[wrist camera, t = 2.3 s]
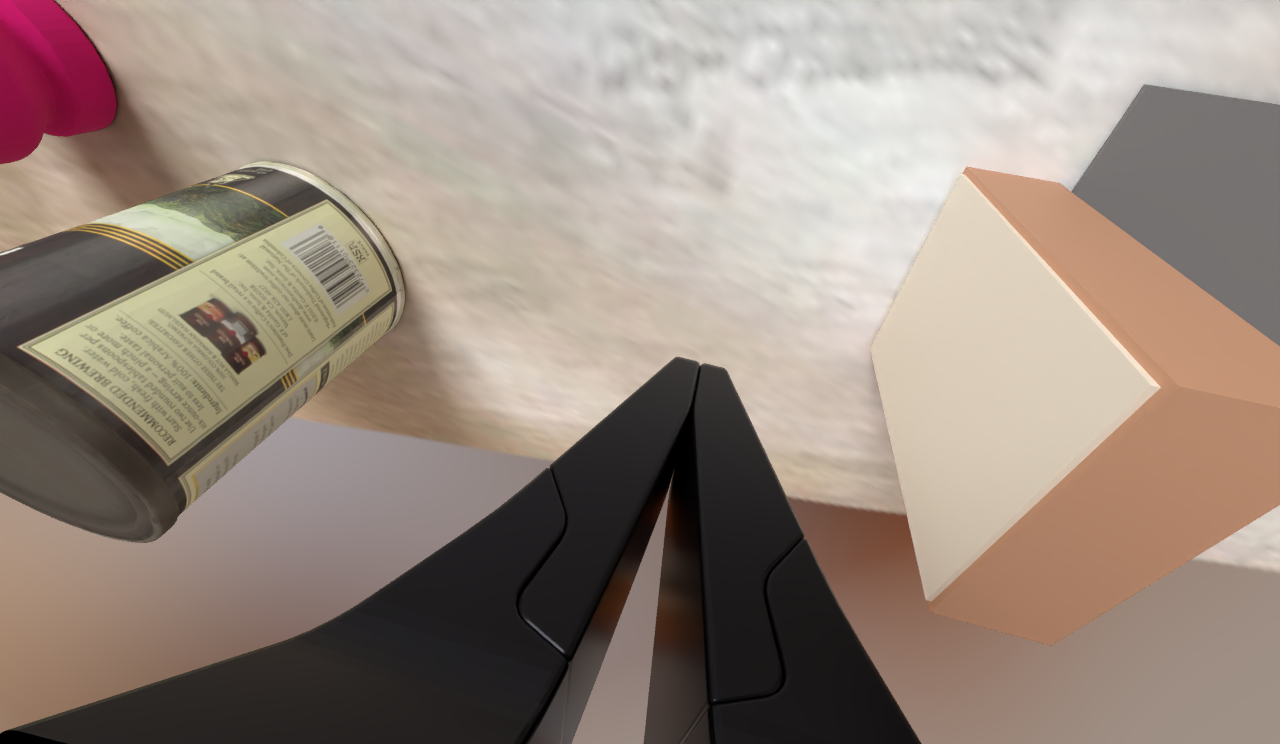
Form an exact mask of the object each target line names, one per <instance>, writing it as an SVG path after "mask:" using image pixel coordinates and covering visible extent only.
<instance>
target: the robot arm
mask: <svg viewBox="0 0 1280 744" xmlns="http://www.w3.org/2000/svg"><path fill="white" fill-rule="evenodd" d="M672 475H673V476H672ZM671 479H672V481H671ZM670 482H671V486H670V491H669V499H668V509H667V518H666V528H665V537H664V548H663V557H662V567H661V578H660V588H659V597H658V607H657V617H656V627H655V637H654V647H653V657H652V666H651V667H652V668H651V676H650V686H649V696H648V707H647V716H646V726H645V736H644V744H921V742H920V741H919V739H918V737H917V735H916V734H915V732H914V730H913V729H912V727H911V725H910V724H909V722H908V721H907V719H906V717H905V716H904V714H903V712H902V710H901V709H900V707H899V705H898V704H897V702H896V700H895V699H894V697H893V695H892V694H891V692H890V690H889V689H888V687H887V686H886V684H885V682H884V680H883V679H882V677H881V676H880V674H879V672H878V670H877V669H876V667H875V666H874V664H873V662H872V661H871V659H870V657H869V656H868V654H867V652H866V651H865V649H864V647H863V646H862V644H861V642H860V640H859V638H858V637H857V635H856V633H855V631H854V630H853V628H852V626H851V624H850V623H849V621H848V619H847V617H846V616H845V614H844V612H843V610H842V609H841V607H840V605H839V603H838V601H837V599H836V598H835V595H834V593H833V592H832V590H831V588H830V586H829V584H828V582H827V580H826V578H825V576H824V574H823V572H822V570H821V568H820V566H819V564H818V562H817V560H816V558H815V556H814V554H813V551H812V549H811V547H810V545H809V543H808V541H807V540H806V539H803V538H804V533H803V531H802V528H801V526H800V524H799V522H798V520H797V518H796V516H795V513H794V512H793V509H792V507H791V505H790V503H789V501H788V499H787V497H786V494H785V492H784V490H783V488H782V486H781V484H780V482H779V480H778V478H777V475H776V473H775V471H774V469H773V467H772V465H771V463H770V461H769V459H768V456H767V454H766V452H765V450H764V448H763V446H762V444H761V442H760V440H759V437H758V435H757V433H756V431H755V429H754V427H753V425H752V423H751V421H750V418H749V416H748V414H747V412H746V410H745V408H744V406H743V404H742V402H741V399H740V397H739V395H738V393H737V391H736V389H735V387H734V385H733V383H732V380H731V378H730V376H729V374H728V372H727V370H726V369H725V368H722V367H718V366H714V365H710V364H705V363H704V364H702V365H701V366H700V364H699V363H698V362H697V361H693V360H689V359H685V358H681V357H675V358H674V359H673V360H671V361H670V362H669V363H668V364H667V365H666V366H664V367H663V368H662V369H661V370H660V371H659V372H658V373H656V374H655V375H654V376H653V377H652V378H651V379H649V380H648V381H647V382H646V383H645V384H644V385H642V386H641V387H640V388H639V389H638V390H637V391H636V392H634V393H633V394H632V395H631V396H630V397H629V398H627V399H626V400H625V401H624V402H623V403H622V404H620V405H619V406H618V407H617V408H616V409H615V410H614V411H612V412H611V413H610V414H609V415H608V416H607V417H605V418H604V419H603V420H602V421H601V422H600V423H598V424H597V425H596V426H595V427H594V428H593V429H592V430H590V431H589V432H588V433H587V434H586V435H585V436H583V437H582V438H581V439H580V440H579V441H578V442H576V443H575V444H574V445H573V446H572V447H571V448H570V449H568V450H567V451H566V452H565V453H564V454H563V455H561V456H560V457H559V458H558V459H557V460H556V461H554V462H553V463H552V464H551V465H550V469H549V468H546V469H545V470H544V471H543V472H541V473H540V474H539V475H538V476H537V477H536V478H535V479H533V480H532V481H531V482H530V483H529V484H528V485H526V486H525V487H524V488H523V489H521V490H520V491H519V492H518V493H516V494H515V495H514V496H513V497H511V498H510V499H509V500H508V501H507V502H505V503H504V504H503V505H502V506H500V507H499V508H498V509H496V510H495V511H494V512H492V513H491V514H489V515H488V516H487V517H485V518H484V519H482V520H481V521H480V522H478V523H477V524H475V525H474V526H473V527H471V528H470V529H468V530H467V531H466V532H464V533H463V534H461V535H460V536H458V537H457V538H455V539H454V540H452V541H451V542H450V543H448V544H446V545H445V546H444V547H442V548H441V549H439V550H438V551H436V552H435V553H433V554H432V555H430V556H429V557H427V558H426V559H424V560H423V561H422V562H420V563H418V564H417V565H416V566H414V567H413V568H411V569H410V570H408V571H407V572H405V573H404V574H402V575H401V576H400V577H398V578H396V579H395V580H394V581H392V582H390V583H389V584H388V585H386V586H385V587H383V588H382V589H380V590H379V591H377V592H376V593H374V594H373V595H372V596H370V597H369V598H367V599H365V600H364V601H362V602H361V603H359V604H358V605H356V606H355V607H353V608H351V609H350V610H348V611H346V612H344V613H343V614H341V615H339V616H337V617H336V618H334V619H332V620H330V621H328V622H326V623H324V624H322V625H320V626H318V627H316V628H314V629H312V630H310V631H307V632H305V633H302V634H300V635H298V636H295V637H293V638H290V639H288V640H285V641H282V642H279V643H276V644H273V645H270V646H267V647H264V648H261V649H258V650H254V651H252V652H248V653H245V654H242V655H239V656H236V657H233V658H230V659H227V660H224V661H220V662H218V663H214V664H211V665H208V666H205V667H202V668H199V669H196V670H192V671H189V672H186V673H183V674H180V675H177V676H174V677H171V678H168V679H165V680H162V681H158V682H155V683H152V684H149V685H146V686H143V687H140V688H137V689H134V690H130V691H127V692H124V693H121V694H118V695H115V696H112V697H109V698H106V699H103V700H99V701H96V702H93V703H90V704H87V705H84V706H81V707H78V708H75V709H72V710H69V711H66V712H62V713H59V714H56V715H53V716H50V717H47V718H44V719H41V720H38V721H34V722H31V723H28V724H25V725H22V726H19V727H16V728H13V729H10V730H6V731H4V732H2V733H1V734H0V744H572V741H573V738H574V736H575V733H576V731H577V728H578V725H579V723H580V720H581V718H582V715H583V712H584V710H585V707H586V705H587V702H588V699H589V697H590V694H591V691H592V689H593V686H594V684H595V681H596V678H597V676H598V673H599V671H600V668H601V665H602V663H603V660H604V657H605V655H606V652H607V650H608V647H609V644H610V642H611V639H612V637H613V634H614V631H615V629H616V626H617V623H618V621H619V618H620V615H621V613H622V610H623V608H624V605H625V603H626V600H627V597H628V595H629V592H630V590H631V587H632V584H633V582H634V579H635V576H636V574H637V571H638V569H639V566H640V563H641V561H642V558H643V556H644V553H645V550H646V548H647V545H648V543H649V540H650V537H651V535H652V532H653V530H654V527H655V524H656V522H657V519H658V516H659V514H660V511H661V509H662V506H663V503H664V501H665V498H666V495H667V492H668V489H669V485H670Z"/></svg>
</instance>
